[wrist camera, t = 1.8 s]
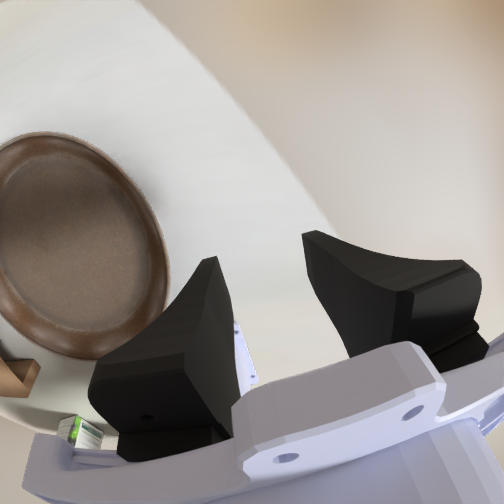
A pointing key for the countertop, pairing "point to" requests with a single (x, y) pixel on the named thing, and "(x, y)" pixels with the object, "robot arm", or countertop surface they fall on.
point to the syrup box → (80, 433)
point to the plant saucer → (76, 248)
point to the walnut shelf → (17, 377)
